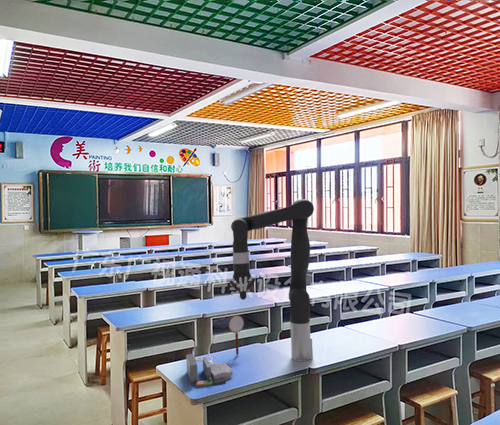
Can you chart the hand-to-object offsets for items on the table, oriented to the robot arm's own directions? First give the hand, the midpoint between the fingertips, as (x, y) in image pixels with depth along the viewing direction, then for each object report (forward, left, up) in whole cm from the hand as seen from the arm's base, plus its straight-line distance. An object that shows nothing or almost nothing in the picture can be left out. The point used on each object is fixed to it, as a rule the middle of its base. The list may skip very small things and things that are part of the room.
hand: (243, 299), depth 191 cm
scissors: (+15, -8, -31) cm, 35 cm away
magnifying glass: (+1, -12, -30) cm, 32 cm away
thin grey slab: (+19, +11, -29) cm, 37 cm away
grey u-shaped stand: (+20, +10, -30) cm, 37 cm away
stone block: (+13, +9, -30) cm, 34 cm away
